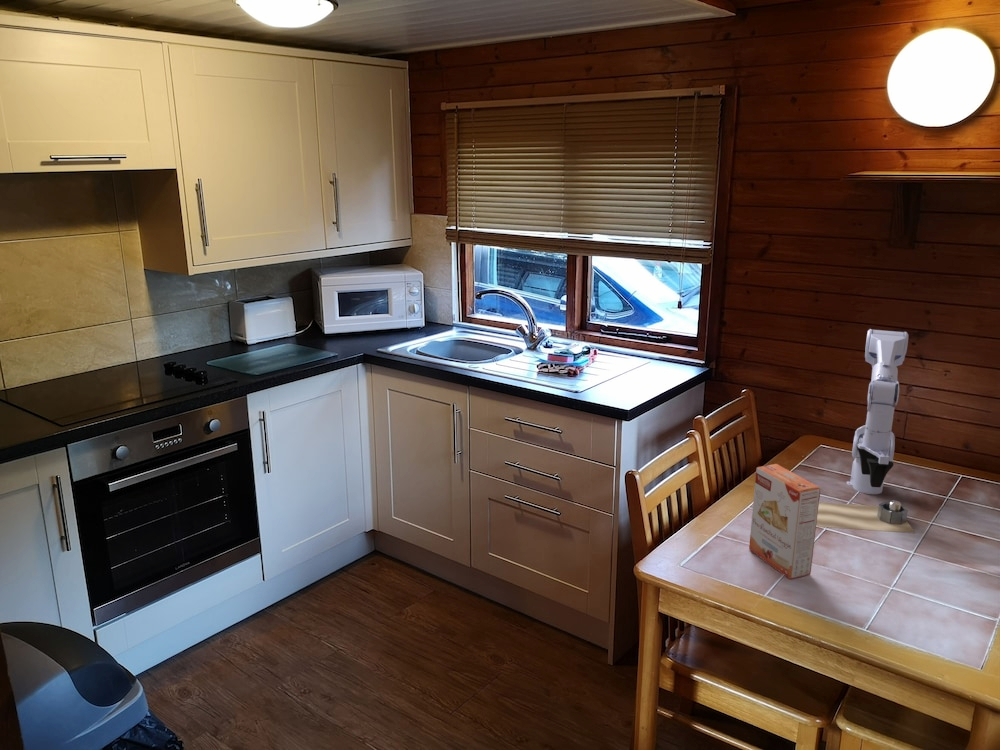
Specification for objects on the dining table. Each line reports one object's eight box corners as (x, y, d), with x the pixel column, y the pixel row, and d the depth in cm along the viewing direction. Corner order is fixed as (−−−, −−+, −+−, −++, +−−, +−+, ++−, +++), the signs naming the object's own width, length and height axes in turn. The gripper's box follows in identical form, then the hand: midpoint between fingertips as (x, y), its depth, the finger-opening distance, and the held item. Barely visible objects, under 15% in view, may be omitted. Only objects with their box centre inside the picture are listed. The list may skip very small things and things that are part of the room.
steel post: (886, 516, 192) (888, 500, 190) (896, 517, 191) (899, 500, 190) (889, 521, 189) (892, 505, 188) (900, 522, 188) (902, 505, 187)
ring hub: (874, 512, 194) (876, 501, 193) (900, 514, 193) (902, 503, 192) (882, 523, 188) (883, 512, 187) (908, 525, 187) (910, 513, 186)
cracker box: (747, 550, 178) (755, 466, 172) (768, 545, 180) (777, 462, 174) (788, 580, 165) (799, 490, 160) (811, 575, 167) (822, 486, 162)
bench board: (805, 505, 200) (805, 501, 200) (896, 511, 197) (896, 507, 196) (817, 530, 187) (818, 526, 187) (915, 537, 183) (915, 533, 183)
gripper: (852, 418, 196) (846, 467, 200) (869, 438, 182) (862, 491, 186) (882, 419, 195) (875, 469, 199) (901, 440, 181) (893, 493, 185)
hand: (870, 480), depth 192 cm, fingers open, 7 cm apart
